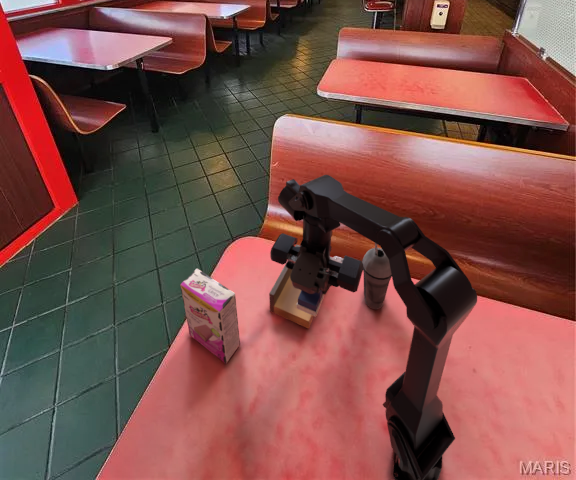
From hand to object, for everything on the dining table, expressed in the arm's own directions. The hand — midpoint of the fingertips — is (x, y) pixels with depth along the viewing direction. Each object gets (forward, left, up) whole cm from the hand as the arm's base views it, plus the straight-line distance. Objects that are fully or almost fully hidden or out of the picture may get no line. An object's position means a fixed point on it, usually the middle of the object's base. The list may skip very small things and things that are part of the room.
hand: (314, 288), depth 71 cm
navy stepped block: (0, 0, -1) cm, 1 cm away
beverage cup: (-11, -11, -12) cm, 20 cm away
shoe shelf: (+6, -6, -12) cm, 14 cm away
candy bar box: (+19, +13, -12) cm, 25 cm away
